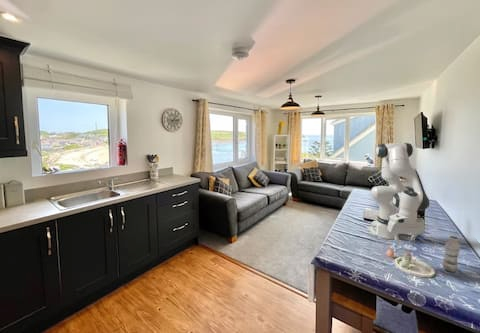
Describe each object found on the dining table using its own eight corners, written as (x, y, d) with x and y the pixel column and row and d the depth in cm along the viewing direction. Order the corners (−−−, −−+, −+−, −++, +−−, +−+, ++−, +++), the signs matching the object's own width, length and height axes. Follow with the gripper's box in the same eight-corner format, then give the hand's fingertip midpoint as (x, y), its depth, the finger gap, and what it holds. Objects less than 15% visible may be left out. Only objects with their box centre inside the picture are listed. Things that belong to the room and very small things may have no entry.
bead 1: (385, 256, 142) (386, 249, 142) (391, 256, 142) (391, 249, 142) (389, 259, 139) (389, 252, 138) (394, 259, 139) (395, 252, 138)
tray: (387, 260, 138) (388, 256, 138) (417, 260, 138) (417, 257, 138) (409, 278, 120) (409, 275, 120) (442, 279, 120) (443, 275, 120)
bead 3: (399, 265, 131) (400, 257, 130) (406, 265, 131) (406, 257, 130) (404, 269, 127) (405, 261, 127) (410, 269, 127) (411, 261, 127)
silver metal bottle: (456, 269, 129) (461, 237, 126) (457, 275, 124) (462, 241, 121) (441, 265, 133) (446, 233, 130) (441, 270, 128) (446, 237, 125)
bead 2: (402, 260, 136) (402, 253, 135) (407, 260, 136) (408, 253, 135) (406, 264, 132) (407, 256, 132) (412, 264, 132) (413, 256, 132)
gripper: (420, 215, 135) (417, 237, 137) (386, 216, 135) (384, 237, 137) (429, 220, 129) (426, 242, 131) (394, 220, 129) (391, 242, 131)
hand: (404, 239), depth 134 cm, fingers open, 8 cm apart
